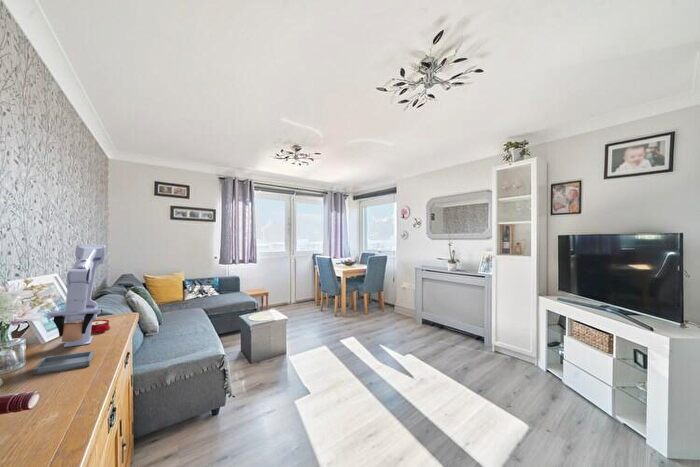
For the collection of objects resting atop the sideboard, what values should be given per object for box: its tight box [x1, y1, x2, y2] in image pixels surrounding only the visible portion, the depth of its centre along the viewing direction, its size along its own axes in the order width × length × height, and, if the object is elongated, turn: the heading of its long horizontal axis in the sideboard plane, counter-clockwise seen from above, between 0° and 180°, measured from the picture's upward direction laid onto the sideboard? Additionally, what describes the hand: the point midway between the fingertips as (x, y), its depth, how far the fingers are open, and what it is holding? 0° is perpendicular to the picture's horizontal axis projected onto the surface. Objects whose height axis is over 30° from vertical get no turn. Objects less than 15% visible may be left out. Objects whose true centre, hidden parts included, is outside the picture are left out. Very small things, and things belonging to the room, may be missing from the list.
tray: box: [32, 350, 95, 376], centre depth 98 cm, size 11×14×2 cm
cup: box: [61, 321, 84, 343], centre depth 104 cm, size 6×6×7 cm
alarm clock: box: [91, 319, 111, 334], centre depth 132 cm, size 10×6×15 cm
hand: (72, 334), depth 104 cm, fingers closed on cup, 6 cm apart
